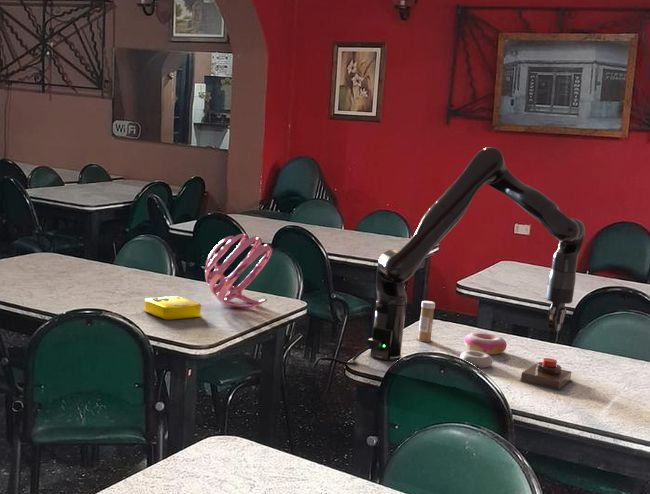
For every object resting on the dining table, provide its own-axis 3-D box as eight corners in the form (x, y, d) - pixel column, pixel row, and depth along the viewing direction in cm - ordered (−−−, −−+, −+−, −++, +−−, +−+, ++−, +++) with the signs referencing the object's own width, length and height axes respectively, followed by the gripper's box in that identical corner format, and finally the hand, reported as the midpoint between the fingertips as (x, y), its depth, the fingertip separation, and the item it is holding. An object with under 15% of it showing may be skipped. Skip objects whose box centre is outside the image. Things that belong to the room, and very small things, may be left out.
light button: (553, 369, 253) (554, 362, 252) (540, 366, 255) (541, 359, 254) (557, 366, 256) (558, 360, 256) (544, 363, 258) (545, 357, 258)
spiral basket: (305, 257, 320) (252, 210, 324) (269, 284, 297) (212, 233, 301) (270, 305, 335) (219, 260, 339) (232, 334, 312) (179, 285, 316)
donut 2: (490, 371, 260) (493, 363, 269) (491, 360, 259) (494, 352, 269) (457, 365, 263) (461, 357, 272) (458, 355, 262) (463, 347, 272)
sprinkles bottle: (433, 341, 290) (438, 303, 288) (423, 342, 288) (428, 303, 286) (424, 338, 294) (429, 300, 292) (414, 338, 292) (419, 300, 289)
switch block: (557, 390, 246) (560, 375, 245) (520, 381, 252) (522, 366, 251) (570, 380, 258) (572, 365, 257) (534, 371, 264) (536, 357, 263)
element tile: (165, 320, 286) (166, 306, 285) (142, 310, 297) (143, 297, 296) (202, 316, 296) (203, 303, 295) (178, 307, 307) (179, 294, 306)
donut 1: (456, 348, 284) (457, 333, 283) (476, 343, 294) (478, 329, 293) (491, 358, 275) (493, 343, 274) (512, 352, 285) (514, 338, 284)
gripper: (554, 281, 259) (546, 336, 261) (541, 285, 247) (533, 343, 250) (579, 285, 255) (570, 341, 258) (568, 290, 244) (559, 349, 246)
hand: (552, 342), depth 254 cm, fingers closed
